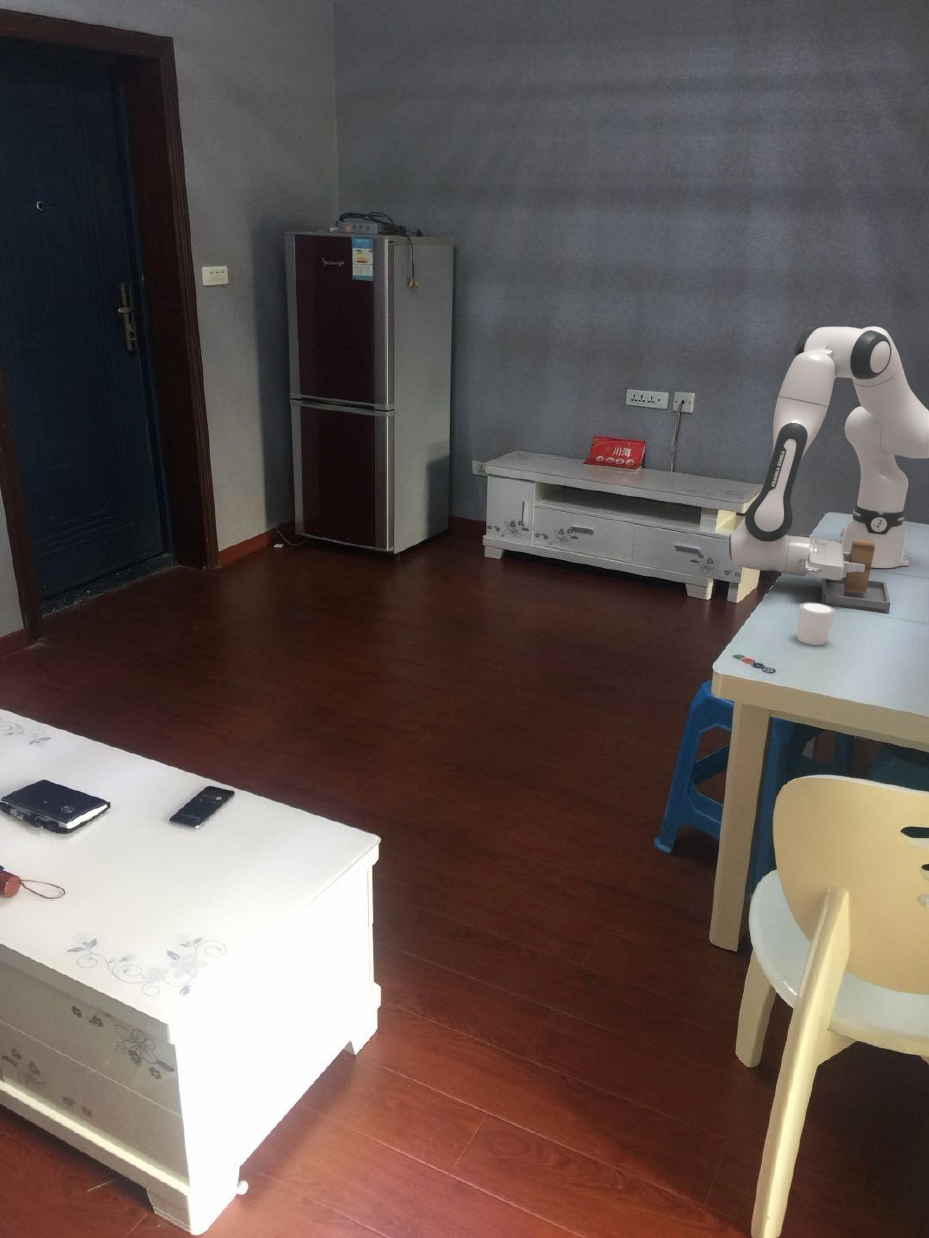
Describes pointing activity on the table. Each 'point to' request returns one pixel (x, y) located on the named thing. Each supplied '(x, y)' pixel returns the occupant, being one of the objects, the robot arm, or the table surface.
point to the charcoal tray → (856, 596)
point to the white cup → (814, 623)
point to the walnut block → (862, 554)
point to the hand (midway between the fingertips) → (864, 564)
